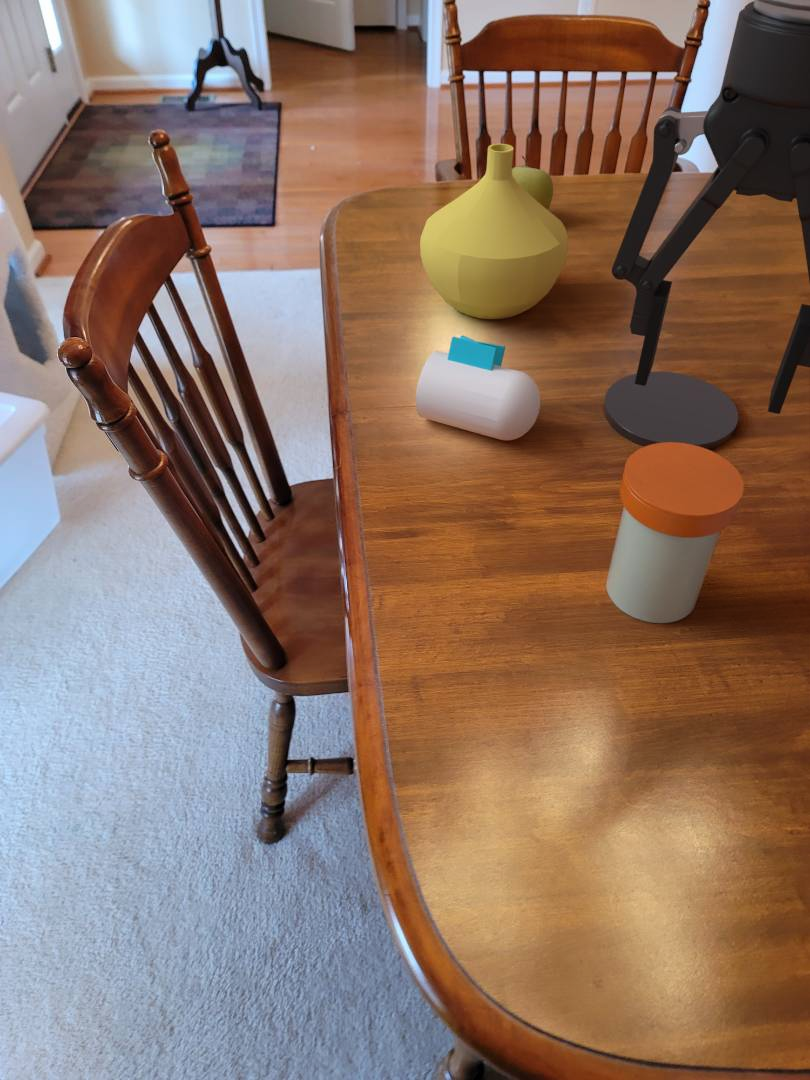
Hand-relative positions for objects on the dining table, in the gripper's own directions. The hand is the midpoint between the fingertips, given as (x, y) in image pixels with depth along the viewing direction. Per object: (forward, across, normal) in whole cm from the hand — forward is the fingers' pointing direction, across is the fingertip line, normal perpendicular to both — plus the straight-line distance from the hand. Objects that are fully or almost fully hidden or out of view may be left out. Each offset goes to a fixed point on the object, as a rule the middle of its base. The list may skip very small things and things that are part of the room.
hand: (708, 388), depth 58 cm
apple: (+21, +32, -70) cm, 80 cm away
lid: (+8, 0, 0) cm, 8 cm away
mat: (+20, +3, -27) cm, 34 cm away
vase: (+21, +29, -44) cm, 56 cm away
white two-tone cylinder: (+20, +21, -19) cm, 35 cm away
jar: (+20, 0, 0) cm, 20 cm away
